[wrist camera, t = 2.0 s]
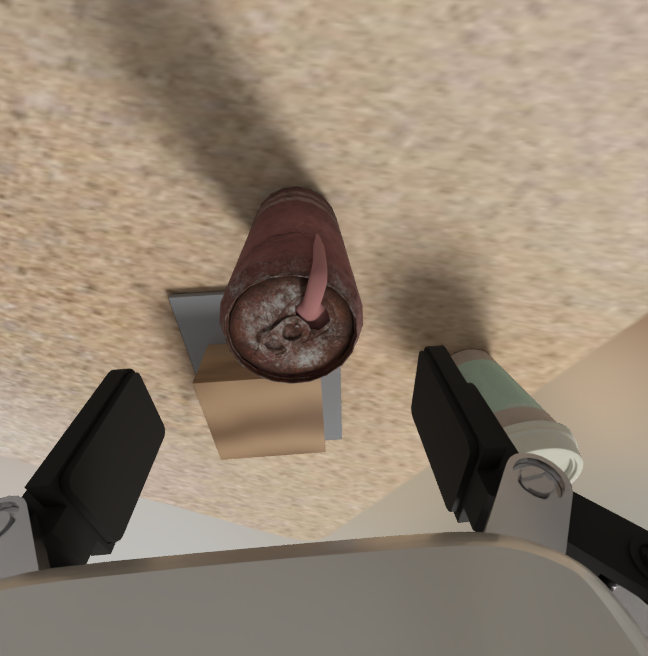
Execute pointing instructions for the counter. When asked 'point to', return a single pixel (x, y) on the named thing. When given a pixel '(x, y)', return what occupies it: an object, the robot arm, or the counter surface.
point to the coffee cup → (520, 413)
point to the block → (257, 409)
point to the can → (292, 292)
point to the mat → (204, 329)
